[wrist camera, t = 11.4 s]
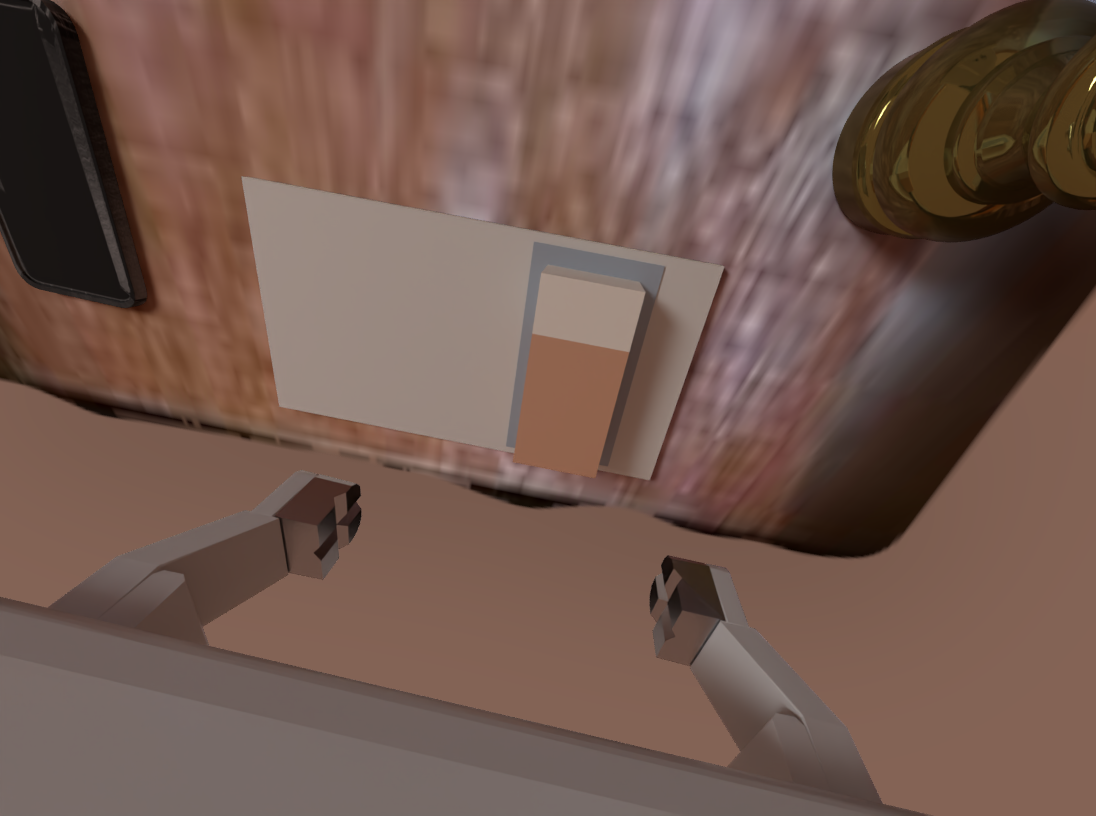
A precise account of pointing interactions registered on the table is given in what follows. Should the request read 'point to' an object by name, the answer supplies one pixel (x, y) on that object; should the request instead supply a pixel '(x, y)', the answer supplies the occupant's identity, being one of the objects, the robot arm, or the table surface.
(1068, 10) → the olive green vase
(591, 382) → the two-tone tall block
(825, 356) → the table surface
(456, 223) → the mat
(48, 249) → the phone
